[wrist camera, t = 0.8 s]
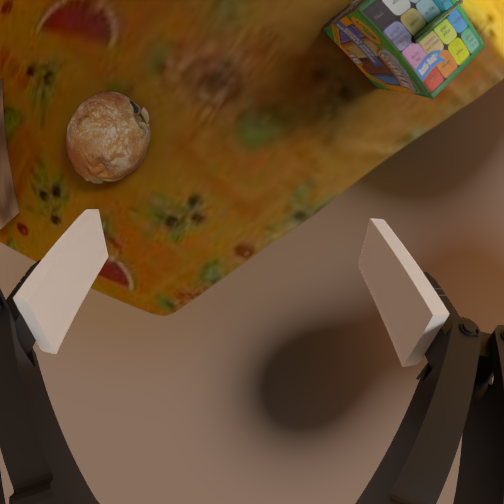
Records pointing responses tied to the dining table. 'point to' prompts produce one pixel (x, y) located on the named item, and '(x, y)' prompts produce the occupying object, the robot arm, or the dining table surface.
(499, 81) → the dining table surface
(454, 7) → the chalk box
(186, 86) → the dining table surface
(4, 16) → the dining table surface
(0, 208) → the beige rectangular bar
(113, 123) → the bread roll
